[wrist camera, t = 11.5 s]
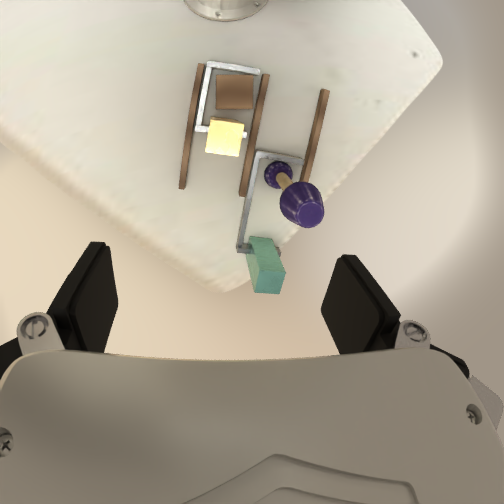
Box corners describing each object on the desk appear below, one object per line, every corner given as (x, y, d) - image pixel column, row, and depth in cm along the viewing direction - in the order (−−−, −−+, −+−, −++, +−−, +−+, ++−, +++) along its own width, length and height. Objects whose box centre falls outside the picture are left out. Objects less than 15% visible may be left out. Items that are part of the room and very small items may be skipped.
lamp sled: (255, 149, 39) (267, 162, 30) (300, 157, 41) (325, 174, 32) (234, 254, 47) (240, 291, 38) (275, 258, 49) (289, 294, 40)
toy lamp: (261, 190, 42) (289, 240, 28) (258, 160, 40) (287, 195, 26) (292, 186, 43) (334, 233, 28) (291, 156, 40) (335, 189, 26)
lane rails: (198, 65, 32) (198, 63, 31) (325, 91, 36) (329, 90, 34) (179, 185, 40) (178, 189, 39) (299, 202, 44) (302, 205, 43)
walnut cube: (216, 78, 33) (216, 74, 30) (248, 78, 34) (253, 75, 30) (215, 108, 36) (216, 108, 32) (248, 108, 36) (252, 108, 32)
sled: (207, 62, 32) (206, 49, 23) (258, 70, 33) (272, 60, 25) (193, 139, 37) (188, 150, 29) (242, 146, 39) (252, 158, 30)
